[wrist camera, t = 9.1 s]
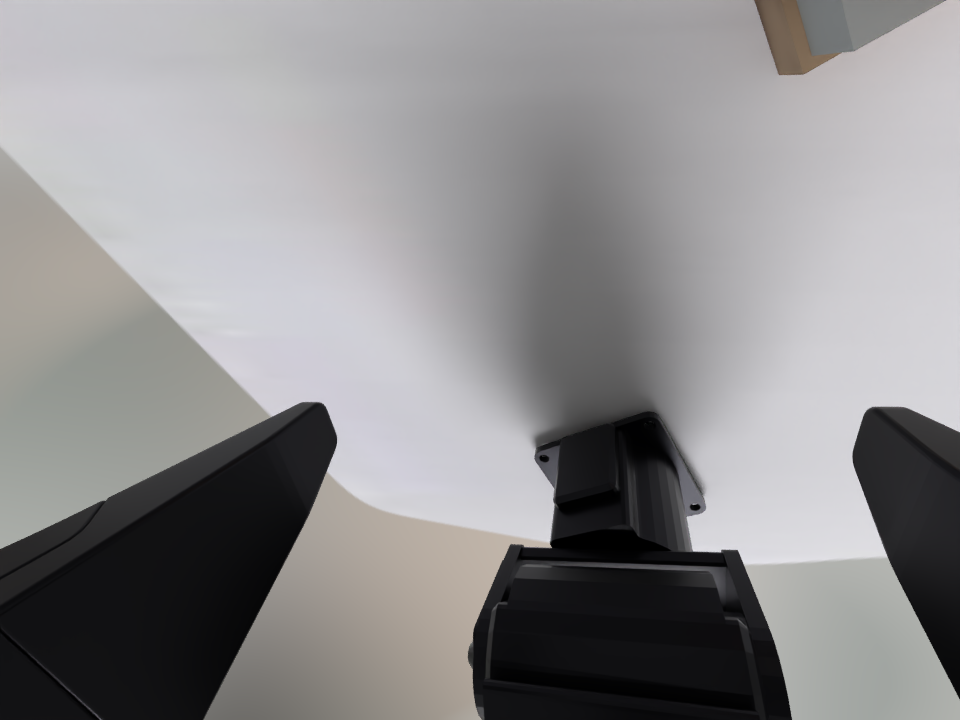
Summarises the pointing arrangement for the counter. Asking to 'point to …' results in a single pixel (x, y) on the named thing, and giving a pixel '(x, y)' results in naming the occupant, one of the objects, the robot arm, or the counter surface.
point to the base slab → (788, 37)
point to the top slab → (854, 21)
